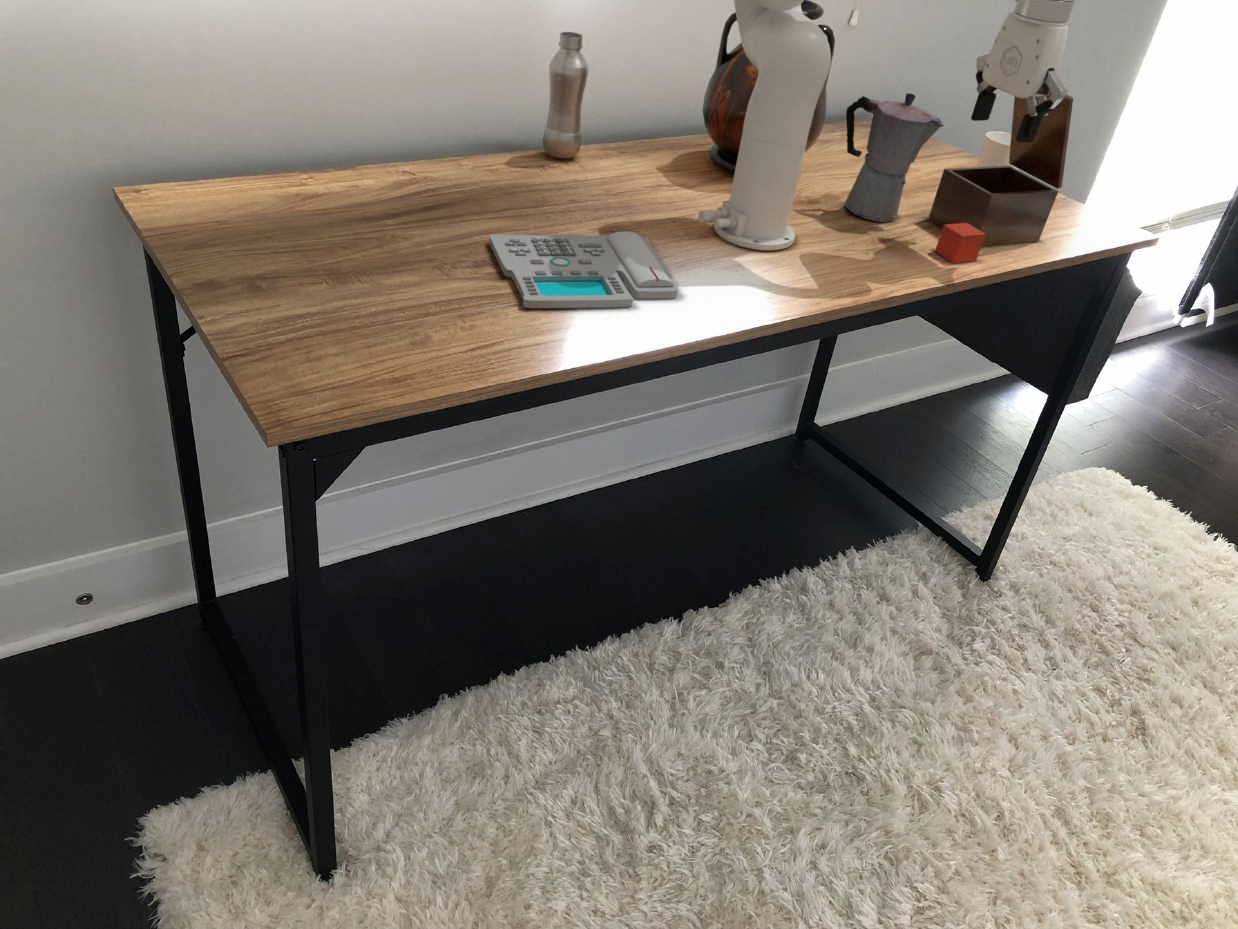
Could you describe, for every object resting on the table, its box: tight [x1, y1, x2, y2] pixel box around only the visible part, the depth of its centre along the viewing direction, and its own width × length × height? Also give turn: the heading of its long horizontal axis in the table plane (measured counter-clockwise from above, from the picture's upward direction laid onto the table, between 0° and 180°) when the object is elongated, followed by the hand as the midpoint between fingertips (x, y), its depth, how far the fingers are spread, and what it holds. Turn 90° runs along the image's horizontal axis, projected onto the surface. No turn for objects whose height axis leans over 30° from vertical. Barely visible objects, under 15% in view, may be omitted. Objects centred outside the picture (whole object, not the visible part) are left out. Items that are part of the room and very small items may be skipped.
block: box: [934, 223, 986, 264], centre depth 153 cm, size 5×4×4 cm
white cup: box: [976, 131, 1020, 171], centre depth 179 cm, size 8×8×10 cm
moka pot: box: [844, 93, 945, 223], centre depth 160 cm, size 10×15×20 cm, turn 78°
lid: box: [1009, 92, 1074, 190], centre depth 158 cm, size 15×12×1 cm
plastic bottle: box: [542, 31, 589, 159], centre depth 164 cm, size 6×7×20 cm
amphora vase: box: [701, 0, 836, 176], centre depth 169 cm, size 22×22×28 cm
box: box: [927, 165, 1059, 248], centre depth 163 cm, size 15×12×9 cm
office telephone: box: [489, 231, 679, 309], centre depth 133 cm, size 23×3×20 cm
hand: (1001, 130), depth 148 cm, fingers open, 9 cm apart
